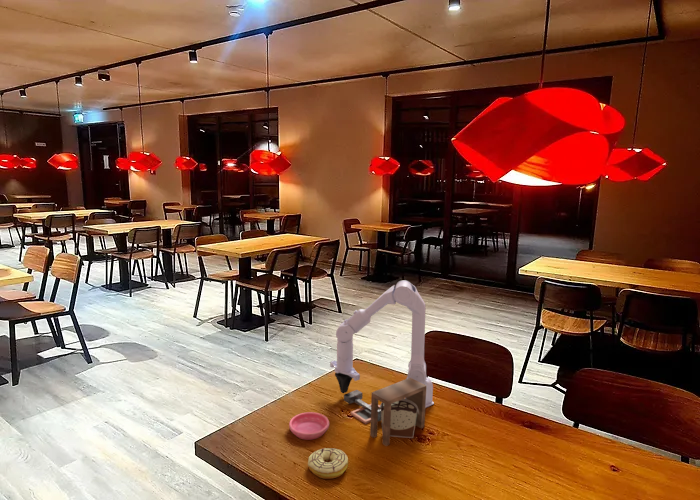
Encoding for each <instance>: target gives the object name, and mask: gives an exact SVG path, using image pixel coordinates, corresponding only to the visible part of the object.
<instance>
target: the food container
mask: <svg viewBox="0 0 700 500" xmlns="http://www.w3.org/2000/svg"><path fill="white" fill-rule="evenodd" d="M379 405H380V408H381V421H380V422H381V430H382V435H383V418H384V403H382V402H381V403H380V404H379ZM380 408H379V410H380ZM417 412H418V413H419V410H418V407H417V405H416V404H415V403H414V402H412V401H410V400H408V399H405V398H404V399H402V400H399V401H397V402H395V403H392V404H391V423H390V437H393V438H406V439H407V438H409V439H414V435H415V429H416V425H415V424H416V418H417Z"/></svg>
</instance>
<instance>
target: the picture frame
mask: <svg viewBox="0 0 700 500" xmlns="http://www.w3.org/2000/svg"><path fill="white" fill-rule="evenodd" d="M368 405H370V406H371V403H369V404H368ZM380 405H381V404H378V410H379V408H380ZM380 409H381V408H380ZM350 415H351V416H352V417H355V419H357V420H358V421H361V422H362V423H363V424H365V425H366V424H369V423H371V412H369V411H368V410H366V409H365V408H363V407H359V408H357V409H355V410H352V411H350Z"/></svg>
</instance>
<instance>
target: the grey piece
mask: <svg viewBox="0 0 700 500" xmlns="http://www.w3.org/2000/svg"><path fill="white" fill-rule="evenodd" d="M343 401H344V402H345V403H347V404H349V405H351V404H353V403H355V404H356V405H358V406H360V408H362V407H363V408H365V409H366V410H368V411H369V412H371V406H370V405H369V404H368V403H366V402H365V401H364V400H363V392H362V391H360V390H358V389H355V390H352V391H350V392H346V393H343ZM378 422H382V421H381V409H380V410H378Z"/></svg>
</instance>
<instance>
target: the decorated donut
mask: <svg viewBox="0 0 700 500" xmlns="http://www.w3.org/2000/svg"><path fill="white" fill-rule="evenodd" d="M348 465H349V458H348V455H347V454H346V453H345V451H343V450H341V449H338V448H332V447H330V448H329V447H327V448H326V447H324V448H320V449H317V450H315V451H314V452H312V453H311V454H310V456H308V461H307V467H308V470H309V471H310V472H312V474H313V475H314V476H317V477H318V478H320V479H326V480H331V479H335V478H339V477H341V476H342V475H343V474H344V472H345V471H346V470H347V468H348V467H349V466H348Z"/></svg>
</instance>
